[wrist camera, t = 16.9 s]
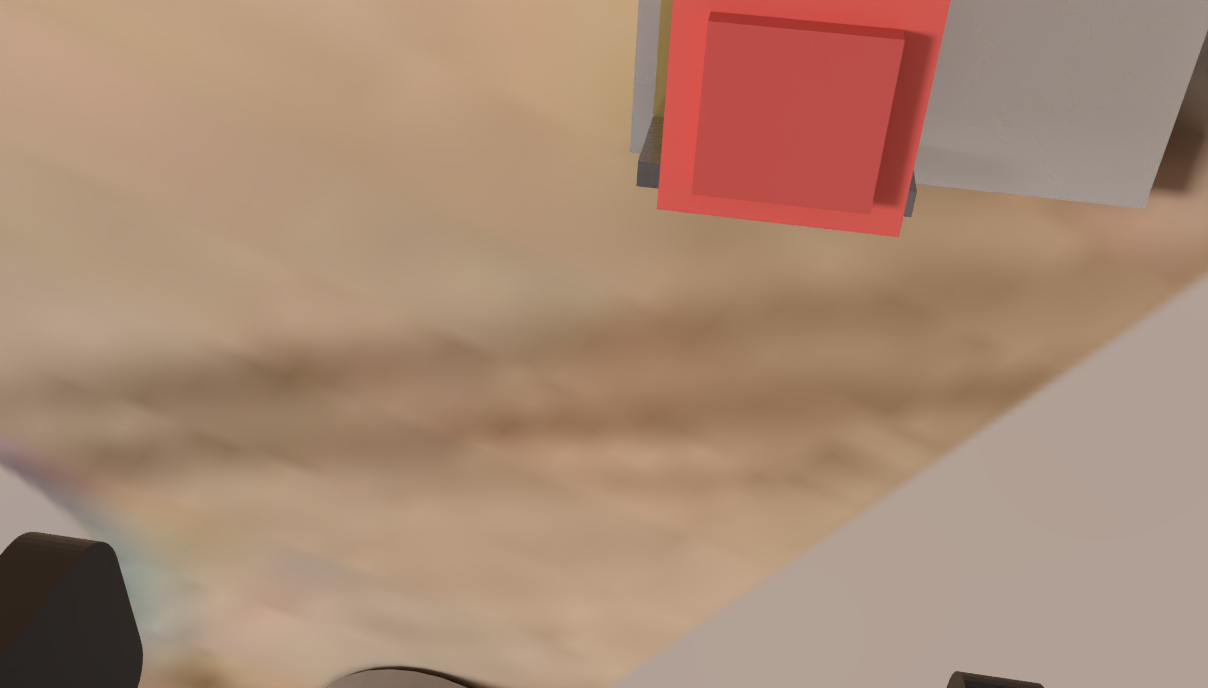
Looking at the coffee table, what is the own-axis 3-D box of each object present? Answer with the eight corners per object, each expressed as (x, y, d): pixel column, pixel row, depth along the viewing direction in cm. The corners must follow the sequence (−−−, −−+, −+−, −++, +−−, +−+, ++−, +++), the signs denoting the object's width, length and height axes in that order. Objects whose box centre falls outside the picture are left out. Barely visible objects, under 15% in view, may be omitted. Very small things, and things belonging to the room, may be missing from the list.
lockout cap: (886, 108, 26) (899, 251, 20) (690, 88, 26) (653, 222, 21) (927, -97, 23) (955, 4, 18) (708, -116, 24) (671, -22, 18)
